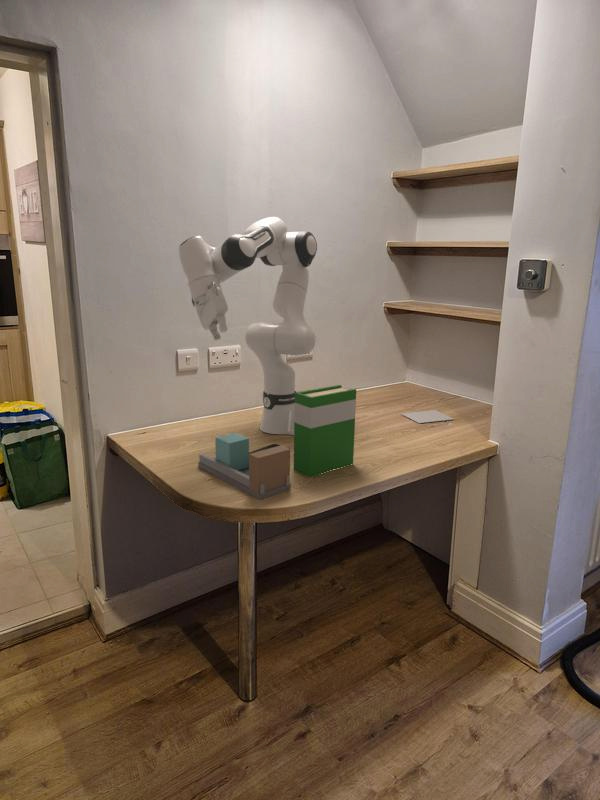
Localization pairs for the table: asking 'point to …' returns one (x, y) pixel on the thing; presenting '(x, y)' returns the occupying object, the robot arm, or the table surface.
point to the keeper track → (255, 472)
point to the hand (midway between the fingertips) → (221, 335)
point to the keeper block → (233, 450)
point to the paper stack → (427, 416)
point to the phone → (265, 448)
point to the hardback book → (324, 429)
